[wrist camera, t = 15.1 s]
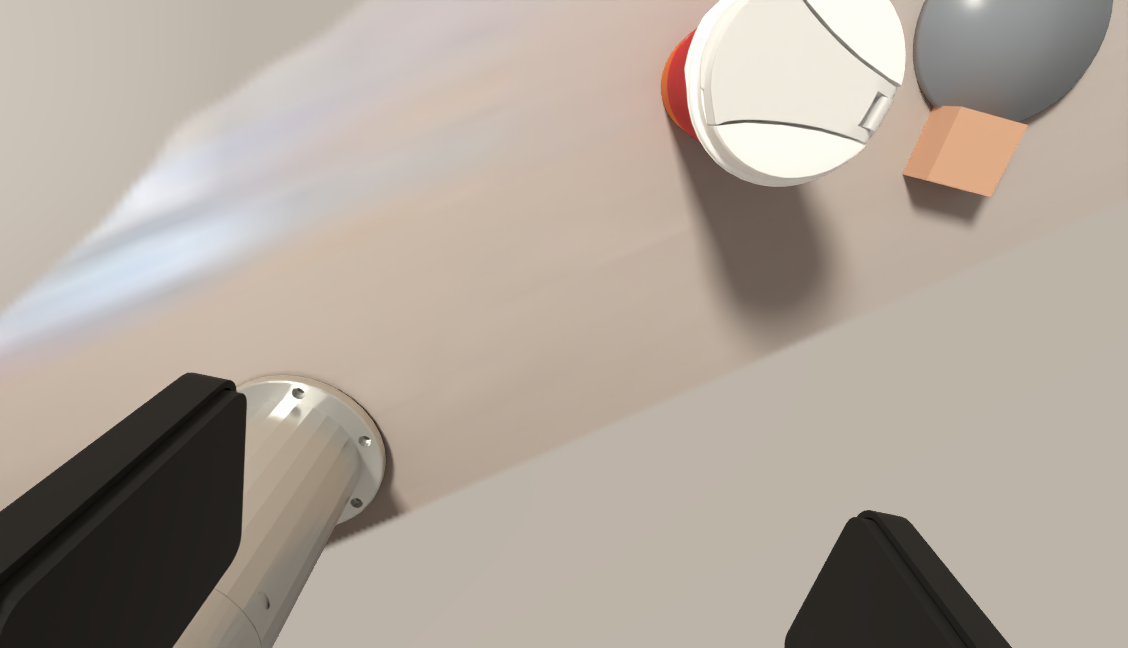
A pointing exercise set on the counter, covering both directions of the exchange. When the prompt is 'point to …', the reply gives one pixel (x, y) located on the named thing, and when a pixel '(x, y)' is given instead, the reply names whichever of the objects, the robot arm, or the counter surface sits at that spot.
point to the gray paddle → (994, 79)
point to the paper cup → (786, 84)
